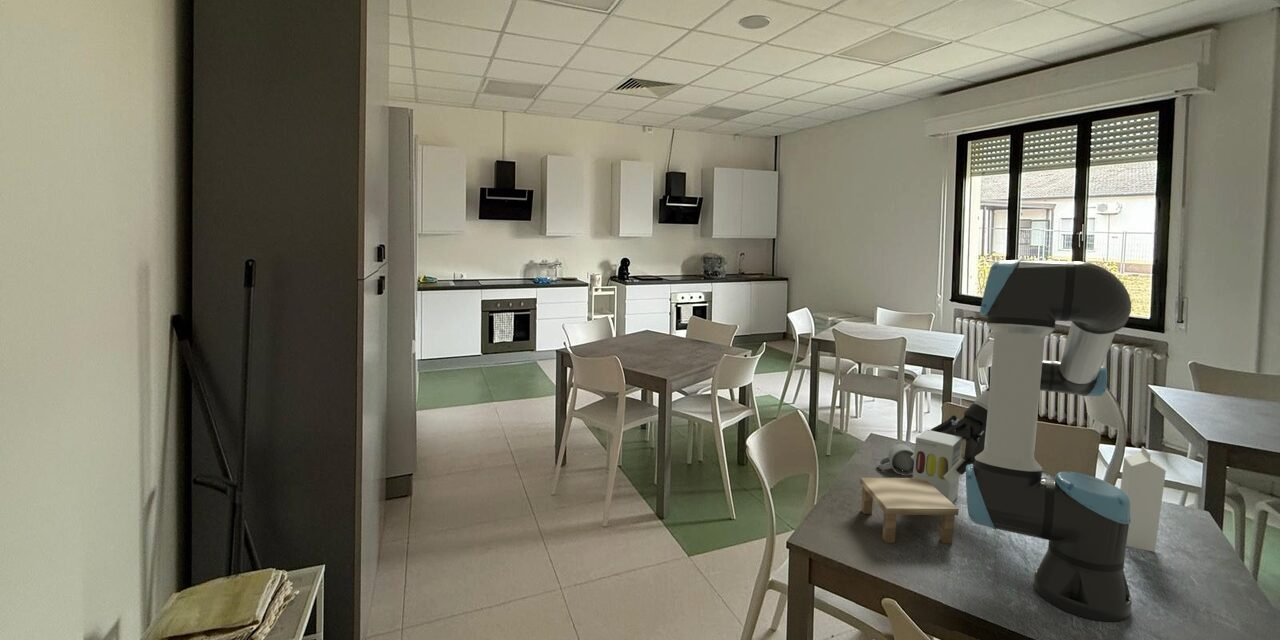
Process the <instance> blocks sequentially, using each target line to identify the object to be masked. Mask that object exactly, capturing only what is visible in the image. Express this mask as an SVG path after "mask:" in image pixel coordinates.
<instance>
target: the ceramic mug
mask: <svg viewBox="0 0 1280 640" xmlns="http://www.w3.org/2000/svg"><path fill="white" fill-rule="evenodd" d="M914 453H915V450H914V449H912V448H911V447H910V446H908V445H906V444H903V443H899V444H898V443H897V444H894V445H893V446H892V447H890V449H889V451H888V457H885V458H882V459H879V460H878V461H877V467H878V469H879V470H880V471H886V470H887V471H888V470H890V469H892V470H893V471H894V472H895V473H896V474H898V475H900V474H901V476H910V475H913V467H914V460H913V459H912V458H911V456H912V455H913V454H914ZM902 470H903V471H902Z"/></svg>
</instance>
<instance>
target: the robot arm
mask: <svg viewBox="0 0 1280 640" xmlns="http://www.w3.org/2000/svg"><path fill="white" fill-rule="evenodd" d="M1130 296H1131V295H1130V294H1129V292H1128V290H1127V288H1126V287H1125V285H1124V283H1123V282H1122V281H1121V280H1120V279H1119V278H1118V277H1117V276H1116V275H1114V273H1112V272H1110V271H1109V270H1107V269H1106V268H1104V267H1101V266H1099V265H1098V264H1094V263H1091V262H1087V261H1077V260H1075V261H1074V260H1073V261H1063V260H1061V261H1058V260H1039V259H1038V260H1034V259H1033V260H1031V259H1011V260H1010V259H1009V260H999V261H996V262H994V263H993V264H992V265H991V267H990V268H989V271H988V276H987V279H986V284H985V286H984V291H983V295H982V300H981V304H980V309H979V315H980V316H981V317H984V318H986V319H987V320H986V327H988V329H990V330H991V331H992V332H993V334H994V335H993V336H994V337H993V348H992V358H991V370H990V380H989V386H988V387H987V388H986V389H985V390H984V391H983V392H982V393H981V394H980V395H979V396H978V397H977V398H976V399H975V400H974V403H972V404H971V405H970V406H969V407H968V408H967V409H966V410H965V411H964V413H963V418H961V419H959V418H958V417H957V416H956V415H955V414H953V415H951V417H950V418H948V419H947V420H945V421H944V422H942V423H940V424H938V425H935V427H933V428H931V429H930V430H931V431H936V432H940V433H945V434H950V435H954V436H960V437H963V441H965V448H964V449H965V451H964V456H963V457H961V458H960V460H959V461H958V462H957V463H956V464H955V465H954V466H953V467H952V468H951V469H950V470H949V471H948V472H947V473H946V474H945V475H944V476H943V477H944V478H945V479H946V480H947V481H948V482H949V483H950V484H952V483H953V482H954V481H955V480H956V479H957V478H958V477H959V478H960V476H961V475H964V474H965V491H966V493H965V494H966V506H967V514H968V517H969V519H970V520H971V521H972V522H973V523H974V524H976V525H980V526H984V527H988V528H992V529H993V530H996V531H997V530H1000V531H1004V532H1008V533H1009V532H1010V533H1015V534H1019V535H1024V536H1029V537H1033V538H1037V539H1043V540H1046V541H1048V546H1047V547H1048V548H1047V551H1046V552H1045V554H1044V556H1043V558H1042V559H1041V562H1040V564H1039V566H1038V567H1037V568H1036V569H1035V571H1034V574H1033V588H1034V589H1035V592H1036V593H1038V595H1039V596H1041V598H1043V599H1044V600H1045V601H1047V602H1048V603H1050V604H1051V605H1053V606H1054V607H1057V608H1058V609H1061V610H1062V611H1065V612H1067V613H1069V614H1073V615H1076V616H1078V617H1082V618H1085V619H1089V620H1094V621H1095V620H1096V621H1102V622H1119V621H1123V620H1125V619H1128V617H1130V615H1131V611H1132V603H1133V602H1132V596H1131V594H1130V590H1129V586H1128V583H1127V579H1126V575H1125V572H1124V567H1125V558H1126V551H1127V547H1126V544H1127V536H1128V529H1129V524H1130V523H1131V518H1130V510H1131V503H1130V500H1129V498H1128V496H1127V495H1126V494H1125V493H1124V492H1123V491H1122V490H1120V488H1119V487H1117V486H1116V485H1114V484H1112V483H1109V482H1108V481H1106V480H1103V479H1101V478H1098V477H1095V476H1093V475H1088V474H1084V473H1080V472H1075V471H1059V472H1058V473H1056V474H1055V476H1054V479H1053V478H1049V477H1048V478H1047V477H1044V476H1042V475H1043V467H1042V466H1041V465H1040V464H1039V463H1038V462H1037V460H1036V459H1035V449H1036V447H1035V446H1036V438H1037V437H1036V436H1037V426H1038V417H1039V416H1038V415H1039V406H1040V393H1041V391H1044V392H1052V393H1053V392H1054V393H1061V394H1067V395H1068V394H1069V395H1078V396H1081V397H1101V396H1103V395H1105V393H1106V389H1107V384H1108V370H1107V368H1106V367H1105V366H1103V364H1104V361H1105V359H1106V357H1107V354H1108V352H1109V349H1110V347H1111V345H1112V342H1113V340H1114V338H1115V334H1116V332H1118V331H1120V330H1121V329H1123V328H1124V327H1125V326H1126V324H1127V322H1128V321H1129V318H1130V316H1131V313H1132V312H1131V311H1132V300H1131V297H1130ZM1058 321H1059V322H1071V324H1070V328H1069V330H1068V331H1069V332H1068V334H1067V337H1066V341H1065V346H1064V349H1063V352H1062V354H1061V355H1062V356H1061V360H1060V361H1055V360H1048V359H1047V360H1046V359H1044V349H1045V348H1044V346H1045V340H1046V339H1045V338H1046V337H1047V336H1049V335H1050V334H1051V333H1053V332H1054V331H1055V330H1056V322H1058ZM914 455H915V452H914V454H913V455H912V456H911V458H912V459H913V460H914Z"/></svg>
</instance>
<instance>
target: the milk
mask: <svg viewBox="0 0 1280 640" xmlns="http://www.w3.org/2000/svg"><path fill="white" fill-rule="evenodd" d="M1166 473H1167V470H1165V468H1164V467H1163V466H1162V465H1161V464H1160V463H1159V462H1158V461H1157V460H1155V459H1153V458H1152V457H1151V453H1150V451H1148V450H1147V449H1146V448H1145V447H1144V446H1141V449H1140V452H1137V453H1134V454H1131V455H1126V456H1124V458H1123V465H1122V473H1121V480H1120V488H1119V489H1120V490H1122V491H1123V492H1124V493H1125V494H1126V495H1127V496H1128V498H1129V500H1130V503H1131V510H1130V518H1131V523H1130V524H1129V529H1128V536H1127V544H1126V548H1131V549H1138V550H1143V551H1148V552H1154V553H1155V552H1156V547H1157V540H1158V539H1157V538H1158V533H1159V532H1158V531H1159V524H1160V517H1161V510H1162V503H1163V494H1164V487H1165V480H1166V479H1165V478H1166Z"/></svg>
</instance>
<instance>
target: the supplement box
mask: <svg viewBox="0 0 1280 640" xmlns="http://www.w3.org/2000/svg"><path fill="white" fill-rule="evenodd" d="M963 441H964V439H963V437H960V436H954V435H950V434H945V433H940V432H936V431H931V429H925V430H924V431H923V432H921V433H920V434H919V435H917V436H916V437H915V447H914V453H915V455H914V467H913V474H912V478H925V479H926V480H927V481H928V482H929V483H930V484H931V485H932V486H934V487H935V488H936V489H937V490H938V491H939V492H940V493H941V494H943V495H944V496H945V497H946V498H947V499H948V500H949V501H950V502H952V503H953V502H955V500H956V499H957V498H958V494H959V485H960V484H959V483H960V476H959V477H958V478H957V479H956V480H955V481H954V482H953V483H952V484H950V483H949V482H948V481H947V480H946V479H945V478H944V477H943V476H944V475H945V474H946V473H947V472H948V471H949V470H950V469H951V468H952V467H953V466H954V465H955V464H956V463H957V462H958V461H959V460H960V458H962V452H963V451H962V450H963Z"/></svg>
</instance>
